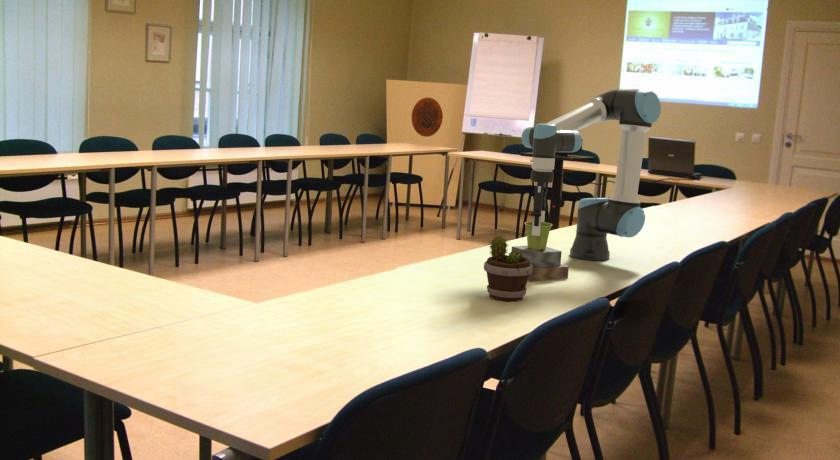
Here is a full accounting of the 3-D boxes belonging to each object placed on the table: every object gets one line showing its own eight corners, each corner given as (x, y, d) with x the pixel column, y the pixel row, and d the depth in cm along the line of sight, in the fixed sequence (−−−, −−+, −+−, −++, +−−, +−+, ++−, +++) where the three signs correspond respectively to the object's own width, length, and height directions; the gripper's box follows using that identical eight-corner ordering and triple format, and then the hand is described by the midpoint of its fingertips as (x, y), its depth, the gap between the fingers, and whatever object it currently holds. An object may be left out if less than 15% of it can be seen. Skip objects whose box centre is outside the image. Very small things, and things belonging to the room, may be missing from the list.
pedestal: (537, 268, 292) (539, 243, 291) (567, 277, 279) (570, 252, 277) (501, 271, 284) (503, 245, 282) (531, 281, 270) (533, 254, 269)
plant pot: (549, 252, 275) (551, 226, 273) (521, 249, 277) (523, 224, 275) (551, 247, 284) (553, 222, 282) (523, 245, 286) (525, 220, 284)
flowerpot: (534, 294, 253) (539, 231, 249) (524, 306, 238) (529, 238, 235) (489, 289, 257) (493, 226, 254) (476, 299, 243) (480, 233, 240)
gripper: (535, 166, 288) (530, 226, 292) (527, 172, 264) (522, 237, 268) (556, 168, 286) (551, 227, 290) (550, 174, 262) (545, 239, 266)
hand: (537, 232), depth 279 cm, fingers open, 13 cm apart
